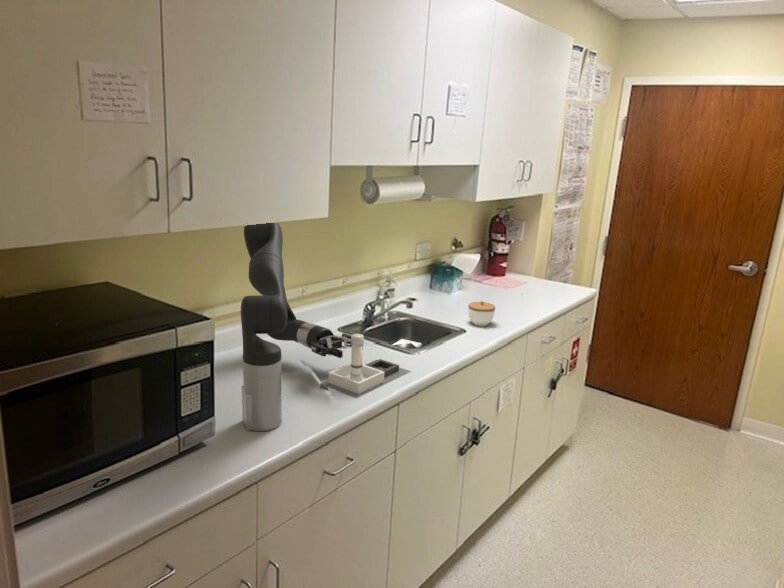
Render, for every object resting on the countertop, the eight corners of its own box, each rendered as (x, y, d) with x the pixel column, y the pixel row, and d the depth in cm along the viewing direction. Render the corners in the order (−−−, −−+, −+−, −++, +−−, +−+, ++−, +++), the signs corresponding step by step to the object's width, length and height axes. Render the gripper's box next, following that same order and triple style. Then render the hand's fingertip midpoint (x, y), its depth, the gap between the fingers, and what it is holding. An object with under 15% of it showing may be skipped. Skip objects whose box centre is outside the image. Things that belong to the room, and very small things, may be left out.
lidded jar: (474, 328, 229) (476, 305, 227) (462, 320, 239) (464, 298, 236) (498, 327, 233) (500, 304, 230) (485, 319, 242) (487, 297, 240)
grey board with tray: (356, 401, 161) (357, 387, 160) (320, 387, 169) (320, 373, 168) (411, 374, 181) (411, 361, 180) (376, 363, 189) (376, 350, 188)
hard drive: (406, 353, 196) (421, 342, 207) (384, 348, 200) (401, 338, 211) (405, 358, 197) (421, 347, 207) (384, 353, 200) (401, 342, 211)
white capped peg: (352, 384, 169) (353, 338, 165) (348, 379, 172) (349, 334, 168) (364, 382, 170) (365, 337, 167) (359, 377, 173) (360, 333, 170)
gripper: (297, 330, 174) (335, 344, 164) (331, 320, 184) (369, 333, 174) (297, 354, 176) (334, 369, 166) (331, 343, 186) (368, 356, 176)
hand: (352, 351), depth 170 cm, fingers open, 8 cm apart
